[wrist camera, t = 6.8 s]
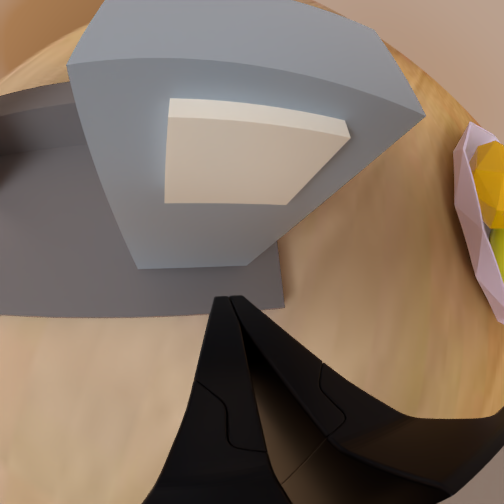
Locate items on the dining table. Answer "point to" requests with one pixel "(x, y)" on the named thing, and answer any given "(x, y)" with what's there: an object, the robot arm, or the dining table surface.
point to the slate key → (229, 119)
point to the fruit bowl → (482, 208)
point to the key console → (88, 230)
